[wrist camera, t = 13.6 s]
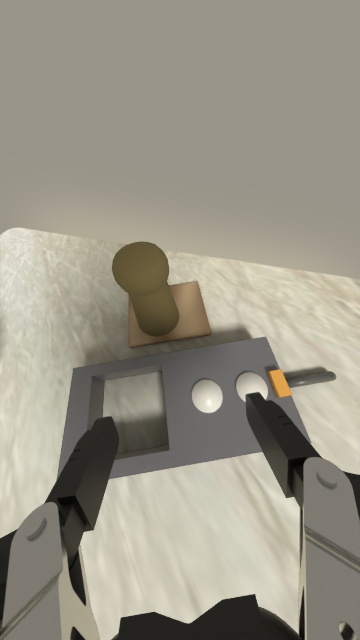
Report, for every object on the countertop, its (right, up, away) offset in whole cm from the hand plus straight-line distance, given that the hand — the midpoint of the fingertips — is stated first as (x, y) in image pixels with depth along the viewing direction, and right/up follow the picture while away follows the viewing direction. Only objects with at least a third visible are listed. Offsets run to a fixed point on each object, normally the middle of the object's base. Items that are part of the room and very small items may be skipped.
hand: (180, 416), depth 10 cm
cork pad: (-2, +7, +15) cm, 16 cm away
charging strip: (+3, -3, +9) cm, 10 cm away
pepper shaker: (-3, +6, +14) cm, 16 cm away
